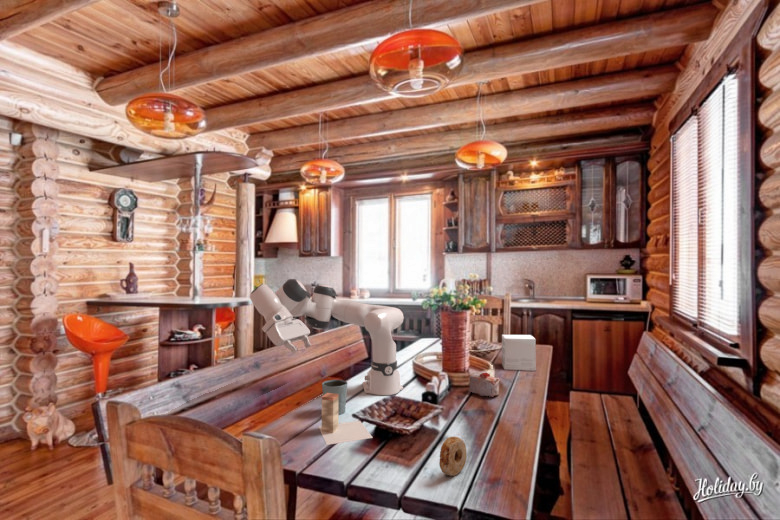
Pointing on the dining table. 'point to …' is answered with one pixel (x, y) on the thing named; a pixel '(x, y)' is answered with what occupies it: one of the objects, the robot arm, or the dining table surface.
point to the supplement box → (519, 352)
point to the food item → (484, 384)
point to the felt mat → (346, 433)
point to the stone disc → (452, 456)
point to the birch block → (330, 412)
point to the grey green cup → (337, 392)
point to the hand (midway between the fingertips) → (302, 349)
